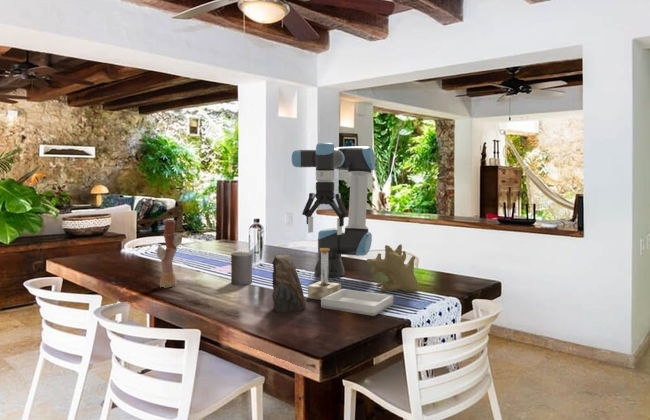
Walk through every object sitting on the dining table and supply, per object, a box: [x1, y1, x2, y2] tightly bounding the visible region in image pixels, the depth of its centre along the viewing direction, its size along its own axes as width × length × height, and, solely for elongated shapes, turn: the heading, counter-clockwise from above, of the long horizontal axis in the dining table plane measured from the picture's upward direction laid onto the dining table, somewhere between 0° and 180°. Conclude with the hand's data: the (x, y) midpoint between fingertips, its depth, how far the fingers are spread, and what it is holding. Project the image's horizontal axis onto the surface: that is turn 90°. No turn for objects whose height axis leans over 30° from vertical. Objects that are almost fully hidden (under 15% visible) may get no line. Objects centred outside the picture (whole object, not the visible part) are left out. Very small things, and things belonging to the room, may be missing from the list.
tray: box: [320, 288, 394, 317], centre depth 186 cm, size 22×18×4 cm
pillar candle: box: [230, 250, 253, 286], centre depth 225 cm, size 10×10×15 cm
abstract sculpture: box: [156, 219, 183, 289], centre depth 217 cm, size 11×7×30 cm
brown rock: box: [271, 253, 307, 314], centre depth 183 cm, size 13×13×20 cm
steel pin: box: [320, 248, 330, 286], centre depth 199 cm, size 4×4×20 cm
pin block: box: [307, 280, 342, 301], centre depth 200 cm, size 10×10×5 cm
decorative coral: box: [366, 243, 419, 293], centre depth 212 cm, size 26×22×25 cm
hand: (324, 233), depth 198 cm, fingers open, 13 cm apart
